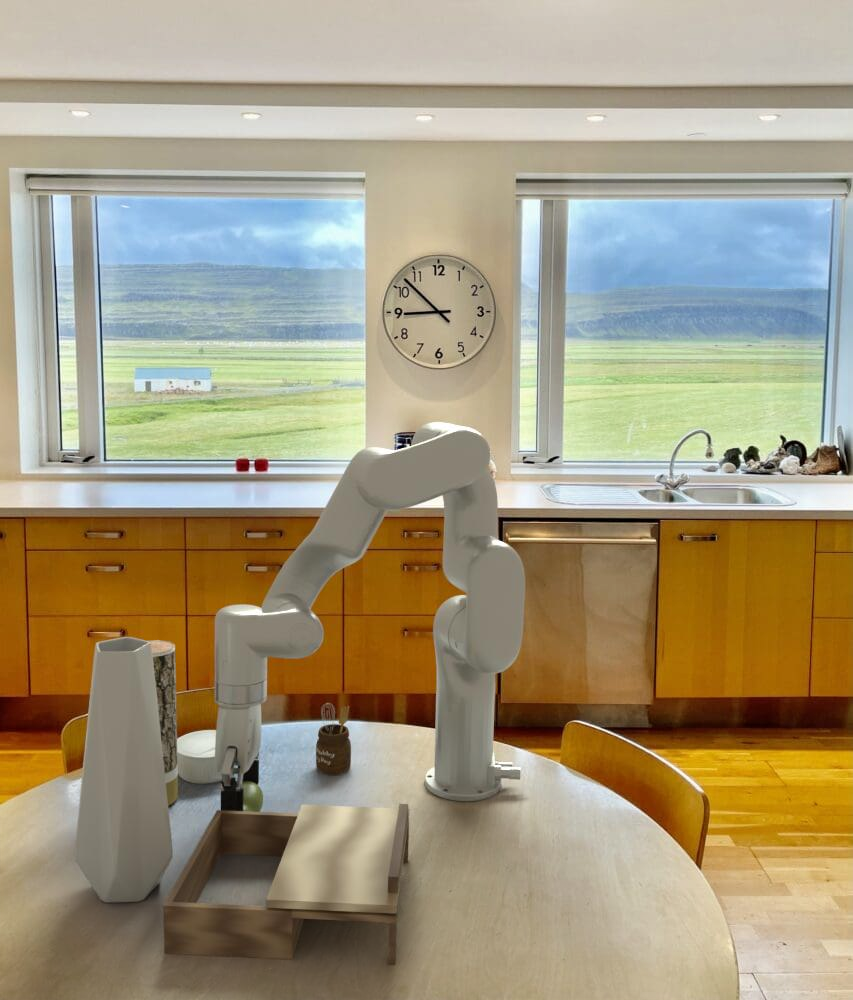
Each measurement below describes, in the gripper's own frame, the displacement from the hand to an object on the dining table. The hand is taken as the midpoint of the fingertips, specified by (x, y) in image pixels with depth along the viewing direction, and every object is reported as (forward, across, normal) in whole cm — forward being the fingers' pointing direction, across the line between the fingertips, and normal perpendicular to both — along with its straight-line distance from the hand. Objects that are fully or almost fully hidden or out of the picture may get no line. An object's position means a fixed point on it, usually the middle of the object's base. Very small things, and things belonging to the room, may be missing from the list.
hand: (240, 799), depth 137 cm
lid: (-3, +20, +18) cm, 27 cm away
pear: (+4, 0, 0) cm, 4 cm away
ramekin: (+4, -16, -10) cm, 19 cm away
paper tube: (+4, -5, -15) cm, 16 cm away
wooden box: (+3, +20, +12) cm, 24 cm away
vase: (+4, +19, -11) cm, 22 cm away
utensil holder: (+4, -19, +11) cm, 23 cm away
